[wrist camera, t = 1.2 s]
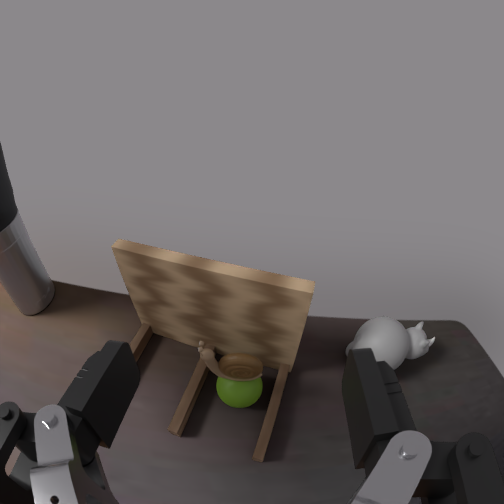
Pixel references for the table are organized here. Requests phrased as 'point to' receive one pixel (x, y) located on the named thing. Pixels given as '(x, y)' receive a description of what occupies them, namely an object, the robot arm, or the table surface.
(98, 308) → the table surface
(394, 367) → the chubby cartoon animal
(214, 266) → the lane rack
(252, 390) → the snail figurine
